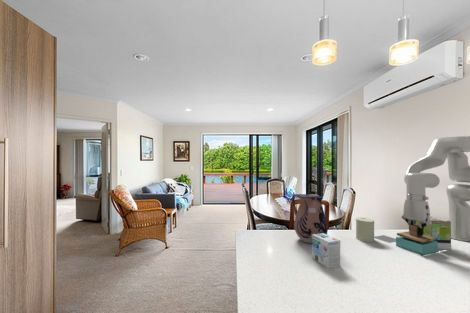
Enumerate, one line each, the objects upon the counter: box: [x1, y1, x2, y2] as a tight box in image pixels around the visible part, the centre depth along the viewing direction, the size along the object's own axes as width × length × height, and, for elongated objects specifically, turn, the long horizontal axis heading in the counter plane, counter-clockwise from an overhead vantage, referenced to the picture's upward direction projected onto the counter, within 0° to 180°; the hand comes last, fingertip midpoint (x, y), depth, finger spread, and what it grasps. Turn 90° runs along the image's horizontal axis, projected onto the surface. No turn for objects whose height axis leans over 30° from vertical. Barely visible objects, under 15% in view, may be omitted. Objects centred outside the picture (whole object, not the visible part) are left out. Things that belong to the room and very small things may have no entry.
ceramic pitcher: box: [290, 193, 329, 244], centre depth 125 cm, size 18×21×25 cm
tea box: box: [413, 215, 452, 251], centre depth 120 cm, size 15×10×15 cm
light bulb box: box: [311, 233, 341, 269], centre depth 98 cm, size 11×7×11 cm, turn 19°
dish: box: [395, 236, 439, 257], centre depth 113 cm, size 12×12×5 cm
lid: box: [396, 224, 437, 243], centre depth 113 cm, size 12×12×6 cm
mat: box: [374, 234, 396, 244], centre depth 127 cm, size 10×10×1 cm
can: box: [355, 217, 375, 243], centre depth 126 cm, size 9×9×12 cm
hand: (416, 233), depth 113 cm, fingers closed on lid, 3 cm apart
